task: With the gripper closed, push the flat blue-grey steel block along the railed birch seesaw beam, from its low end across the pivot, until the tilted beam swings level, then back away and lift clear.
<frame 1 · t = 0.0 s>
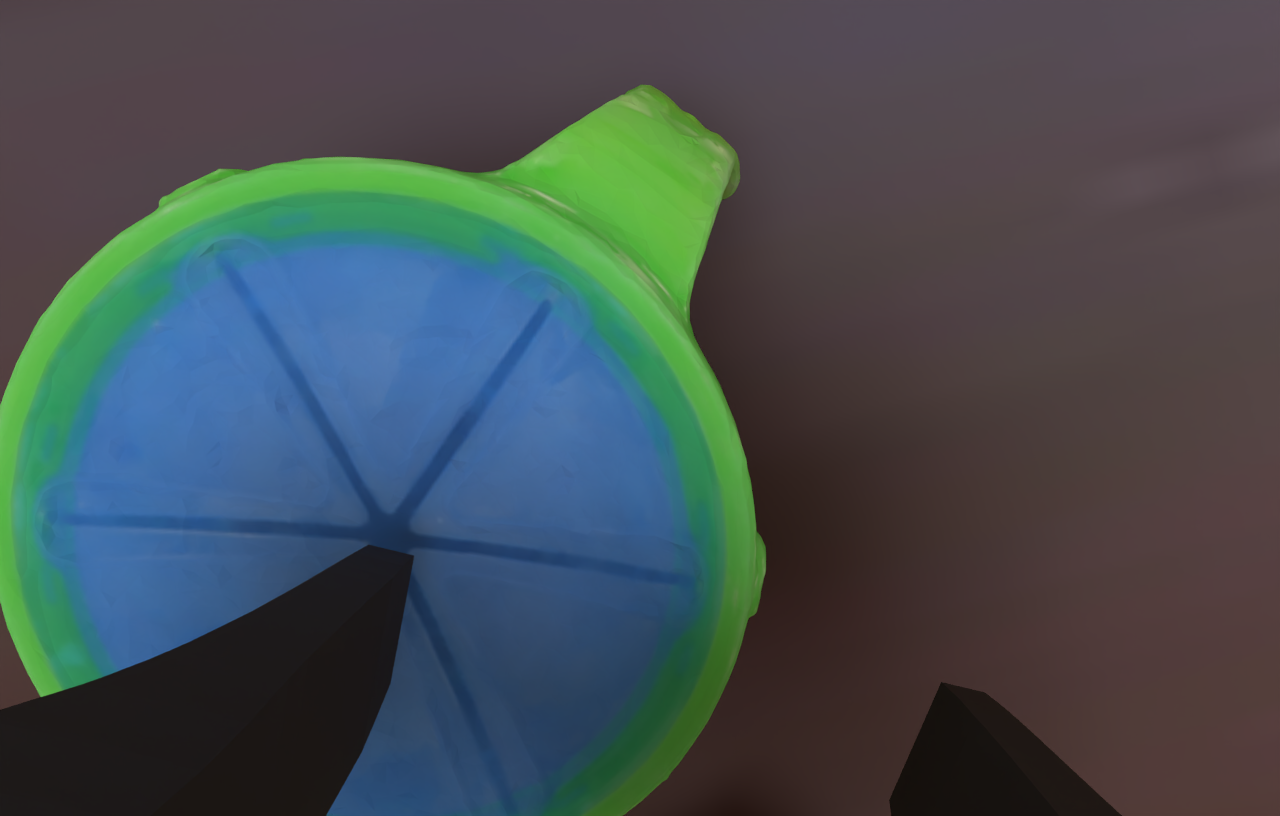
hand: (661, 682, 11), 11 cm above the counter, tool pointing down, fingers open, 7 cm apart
snack cup: (495, 419, 22), on the counter
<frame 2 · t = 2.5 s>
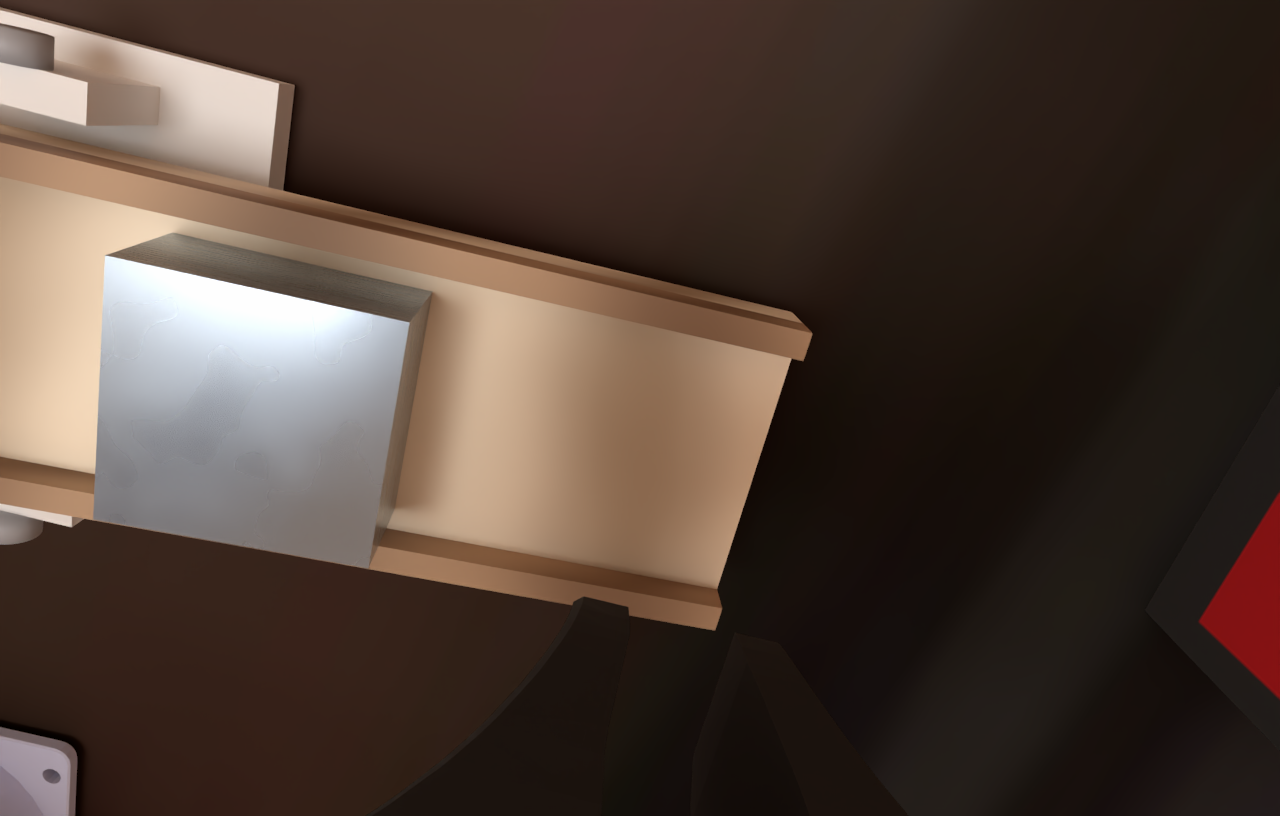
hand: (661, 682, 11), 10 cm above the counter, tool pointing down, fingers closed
steel block: (291, 380, 18), point 3 cm above the counter, tilted 6°, touching beam
fulcrum stand: (104, 278, 20), on the counter
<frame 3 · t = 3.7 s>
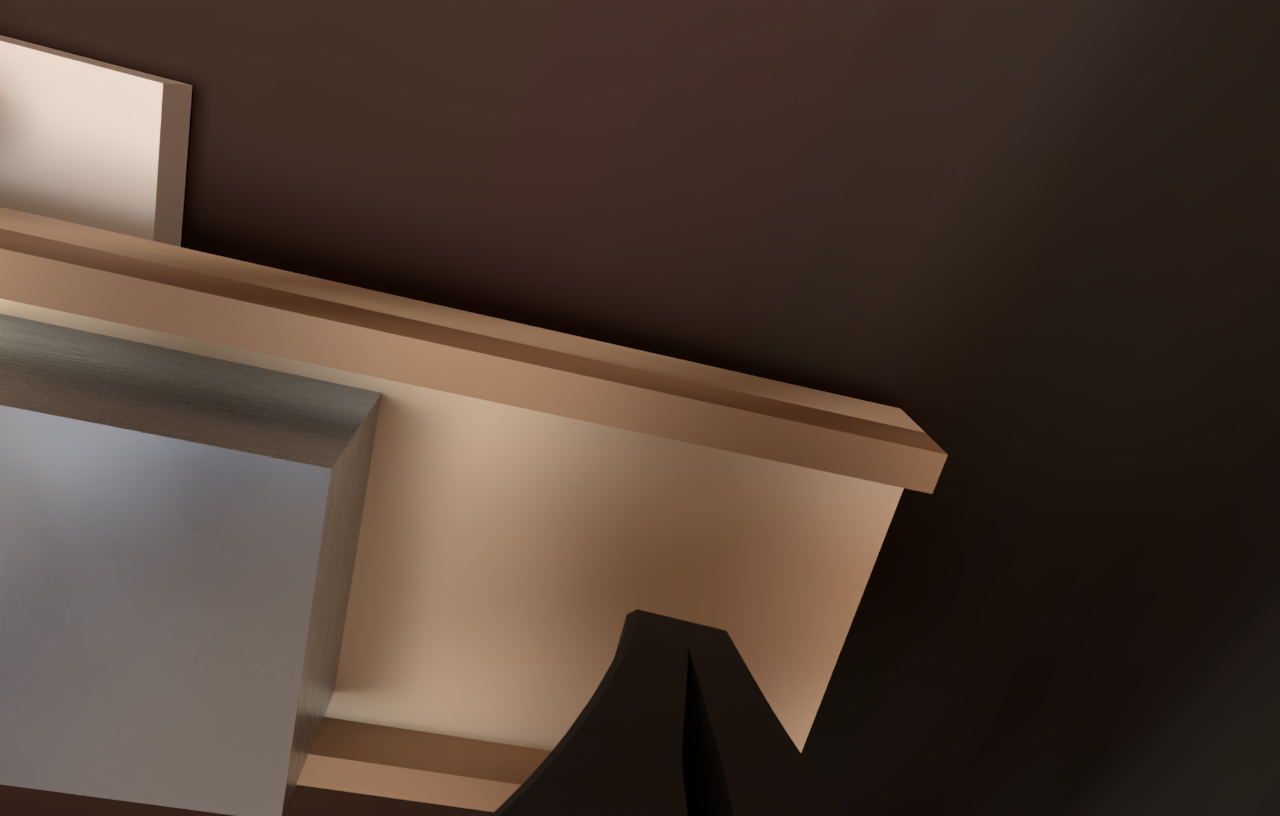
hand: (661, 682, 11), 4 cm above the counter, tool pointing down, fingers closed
steel block: (175, 519, 12), point 3 cm above the counter, tilted 6°, touching beam
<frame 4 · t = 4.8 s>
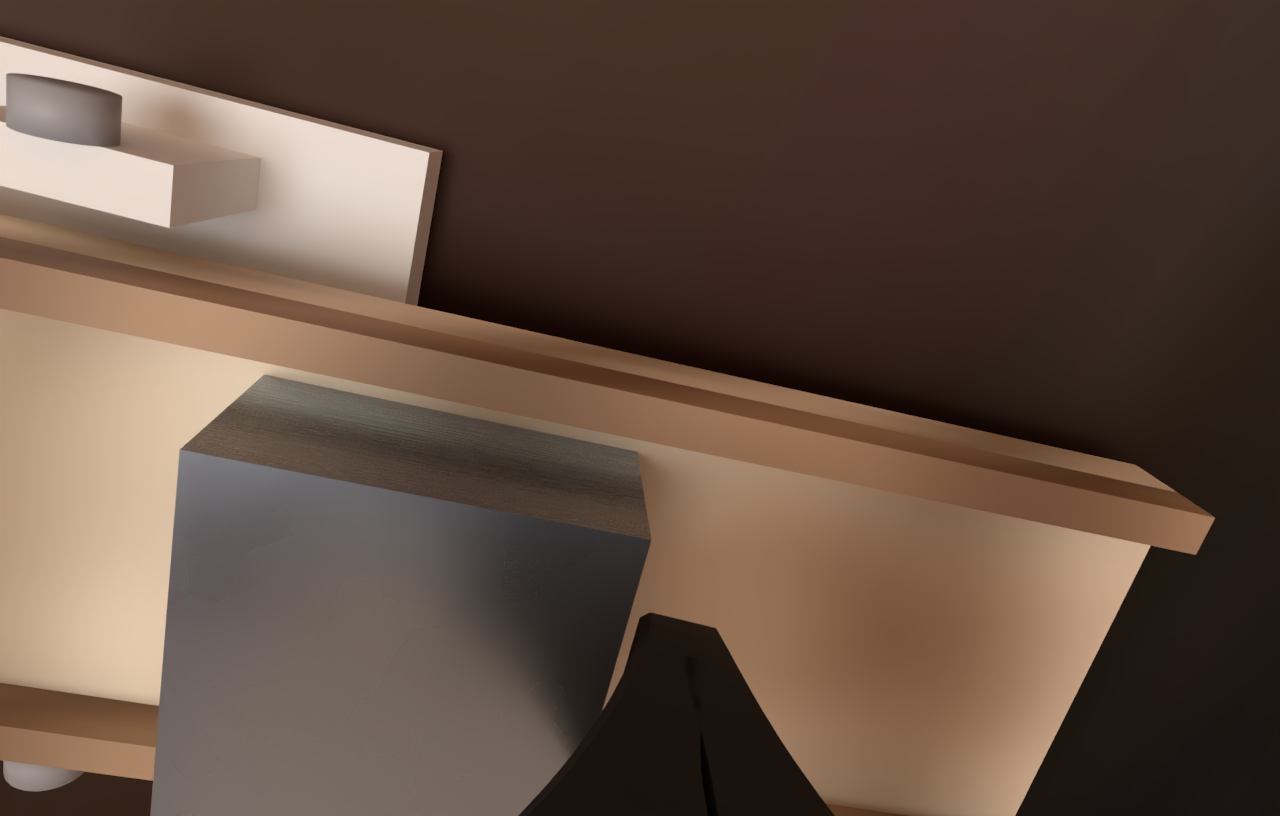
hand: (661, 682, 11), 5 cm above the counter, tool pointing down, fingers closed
steel block: (425, 573, 12), point 3 cm above the counter, tilted 6°, touching beam, gripper
fulcrum stand: (171, 405, 15), on the counter
beam: (20, 497, 12), point 4 cm above the counter, hinge at -6.2°, touching steel block
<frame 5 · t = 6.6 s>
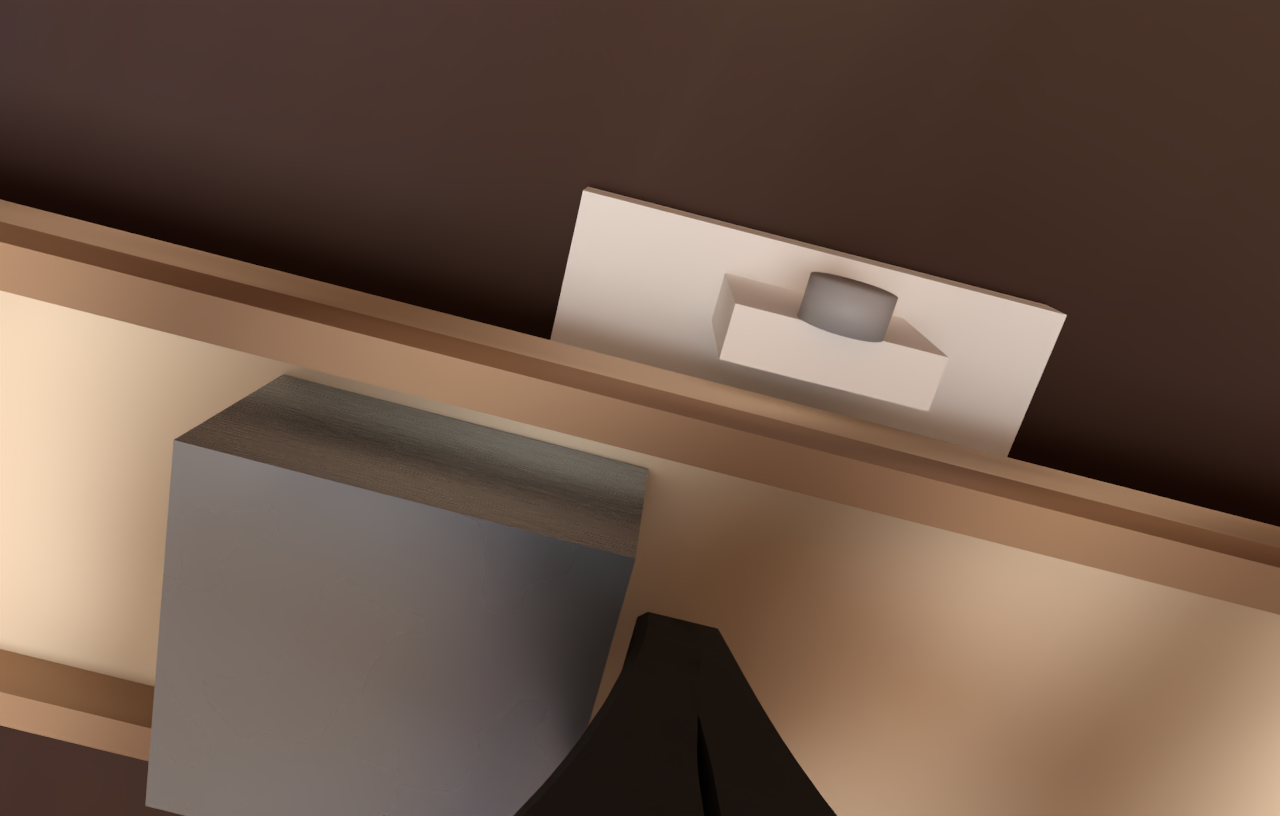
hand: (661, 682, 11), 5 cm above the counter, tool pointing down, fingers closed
steel block: (435, 581, 12), point 4 cm above the counter, touching gripper
fulcrum stand: (729, 531, 16), on the counter
beam: (745, 652, 12), point 4 cm above the counter, hinge at 1.3°
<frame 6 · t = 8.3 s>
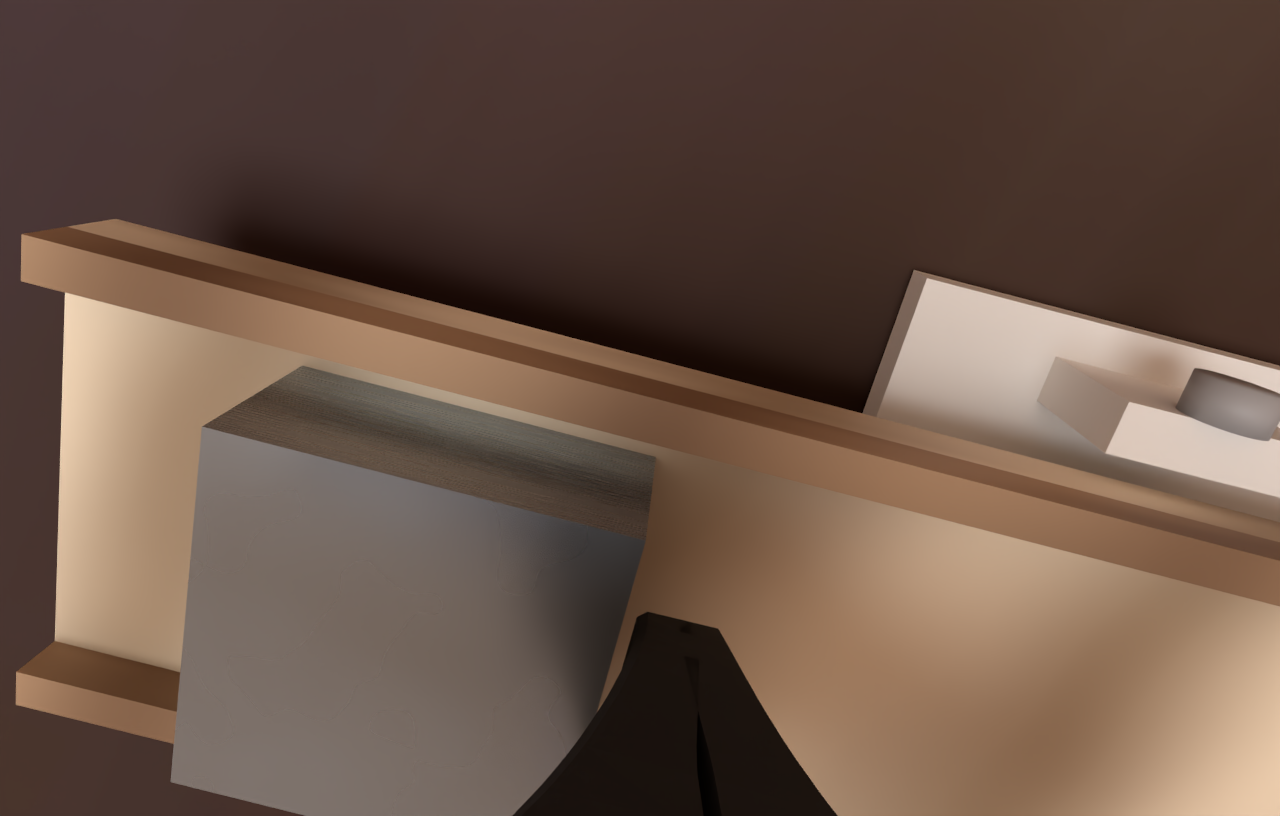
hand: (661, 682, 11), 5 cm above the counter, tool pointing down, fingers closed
steel block: (448, 567, 12), point 4 cm above the counter, touching beam, gripper
fulcrum stand: (1012, 595, 16), on the counter
beam: (1107, 730, 13), point 4 cm above the counter, hinge at 1.5°, touching steel block
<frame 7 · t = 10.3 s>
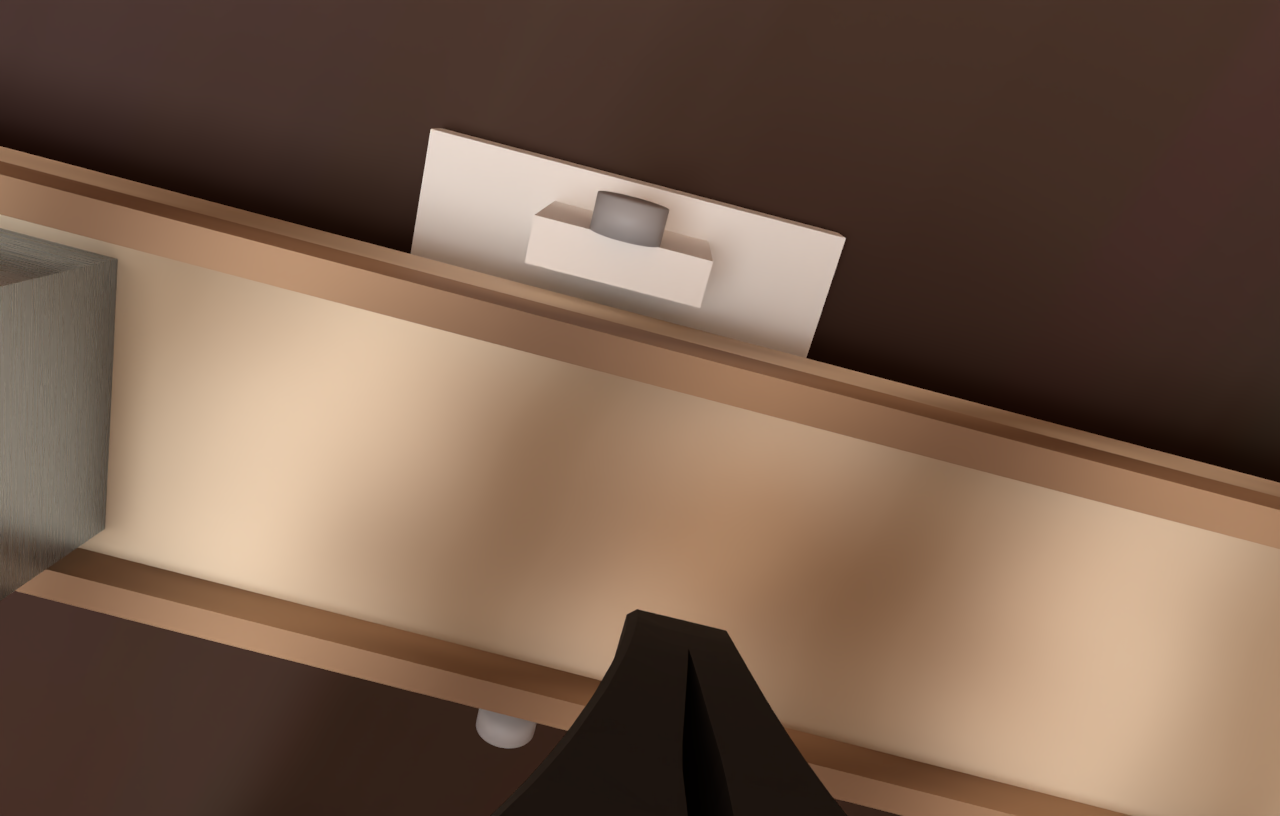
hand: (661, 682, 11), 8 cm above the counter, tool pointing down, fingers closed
fulcrum stand: (579, 435, 18), on the counter
beam: (554, 513, 15), point 4 cm above the counter, hinge at 1.5°, touching steel block
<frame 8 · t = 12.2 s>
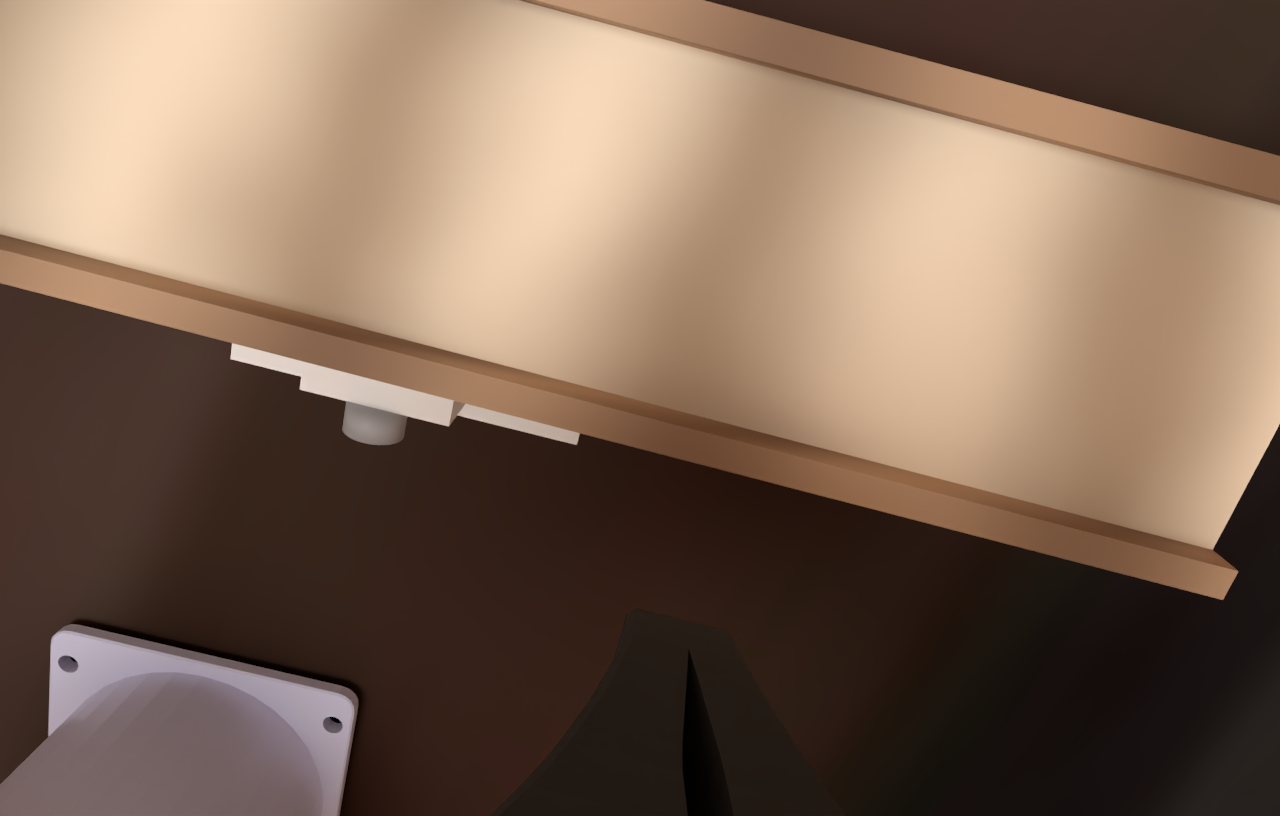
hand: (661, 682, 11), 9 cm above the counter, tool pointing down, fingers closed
fulcrum stand: (456, 156, 18), on the counter
beam: (401, 164, 15), point 4 cm above the counter, hinge at 1.5°, touching steel block
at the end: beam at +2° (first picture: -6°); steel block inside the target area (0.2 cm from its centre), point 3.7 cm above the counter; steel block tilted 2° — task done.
